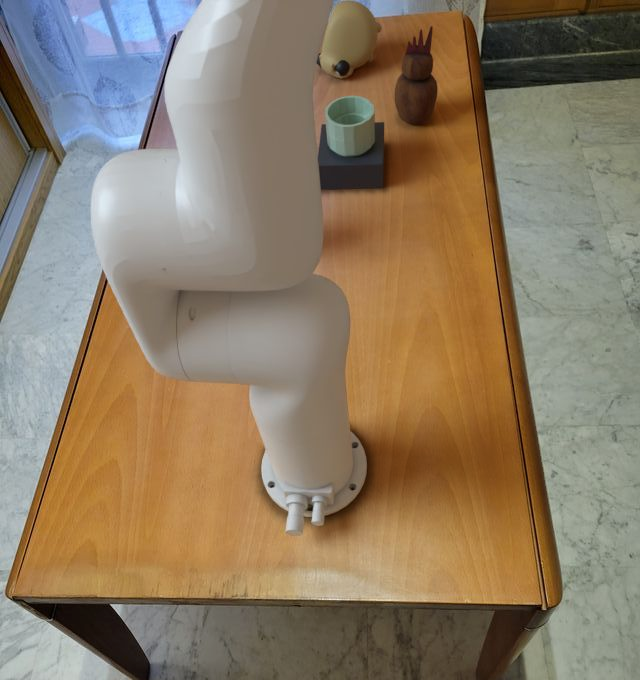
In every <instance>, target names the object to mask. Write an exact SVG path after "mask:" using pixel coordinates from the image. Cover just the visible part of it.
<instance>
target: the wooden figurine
mask: <svg viewBox="0 0 640 680" xmlns="http://www.w3.org/2000/svg"><path fill="white" fill-rule="evenodd" d="M433 28H434V26H430V27H429V31H428V33H427V37H426V39H425V43H424V33H423V29H422V28H421V29H419V35H418V39H416V36H413V37H412V44H411V42H410V41H409V40H408V42H407V45H406V49H405V52H404V54H403V55H402V59H401V74H400V75H399V76H398V77H397V80H396V83H395V87H394V104H395V105H394V106H395V109H396V112H397V114H398V116H399V118H400V119H401V121H403V122H405V123H406V124H409V125H413V126H419V125H423V124H424V123H426V122H428V121H429V119H430V118H431V117H432V116H433V113H434V111H435V108H436V107H435V106H436V103H437V99H438V89H439V88H438V87H439V86H438V82H437V79H436V78H435V77H434V75H433V74H432V72H433V69H434V57H433V55H432V53H431V50H432V42H433V41H432V38H433ZM417 40H418V41H417Z"/></svg>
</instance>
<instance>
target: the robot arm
mask: <svg viewBox="0 0 640 680" xmlns="http://www.w3.org/2000/svg"><path fill="white" fill-rule="evenodd" d="M334 1H335V0H201V1H200V3H199V4H198V6H197V7H196V9H195V10H194V12H193V13H192V15H191V17H190V18H189V20H188V22H187V23H186V26H185V27H184V29H183V31H182V32H181V35H180V37H179V39H178V42H177V44H176V46H175V48H174V51H173V54H172V56H171V59H170V61H169V64H168V67H167V70H166V73H165V78H164V85H163V86H164V89H163V92H164V102H165V107H166V111H167V116H168V119H169V123H170V125H171V129H172V132H173V137H174V140H175V144H176V147H175V148H142V149H141V148H139V149H135V150H129V151H128V150H127V151H125V152H122V153H120V154H119V153H118V154H117V155H116V156H113V157H112V158H110V159H109V160H108V161H107V162H106V163H105V164H104V165H103V166H102V167H101V168H100V170H99V172H98V174H97V175H96V177H95V179H94V183H93V185H92V190H91V196H90V208H89V209H90V226H91V227H90V228H91V233H92V238H93V239H92V240H93V243H94V249H95V251H96V254H97V257H98V258H97V259H98V261H99V264H100V266H101V268H102V270H103V273H104V276H105V278H106V281H107V282H108V284H109V286H110V288H111V290H112V292H113V294H114V297H115V299H116V300H117V303H118V305H119V307H120V309H121V311H122V313H123V315H124V317H125V320H126V321H127V323H128V325H129V327H130V329H131V331H132V334H133V336H134V338H135V339H136V342H137V344H138V346H139V348H140V350H141V351H142V354H143V356H144V357H145V359H146V361H147V362H148V363H149V365H150V366H151V368H153V369H154V371H155V372H157V374H159V375H161V376H162V377H165V378H167V379H170V380H174V381H179V382H189V383H205V384H207V383H208V384H228V385H241V386H249V393H248V399H249V401H248V402H249V406H250V410H251V412H252V415H253V418H254V421H255V423H256V427H257V429H258V432H259V435H260V438H261V441H262V443H263V447H264V449H265V450H264V454H263V457H262V460H261V467H260V470H261V478H262V482H263V486H264V488H265V490H266V492H267V494H268V495H269V497H270V499H271V500H272V501H273V502H274V503H275V504H277V505H278V507H280V508H281V509H283V510H285V511H286V512H288V513H287V516H286V524H285V525H286V526H285V534H286V535H288V536H291V537H292V536H293V537H300V536H303V534H304V525H305V517H306V518H311V525H313V526H314V527H315V526H317V527H322V526H324V524H325V516H329V515H332V514H334V513H337V512H339V511H340V510H342V509H344V508H346V507H347V506H348V505H350V504H351V502H353V501H354V500H355V499H356V497H357V496H358V495H359V493H360V492H361V490H362V488H363V486H364V484H365V481H366V477H367V473H368V472H367V471H368V470H367V469H368V468H367V467H368V463H367V456H366V452H365V448H364V447H363V445H362V442H361V441H360V439H359V438H358V437H357V436H356V435H355V433H354V432H352V431H351V425H350V415H349V413H350V412H349V403H348V394H347V393H348V392H347V381H346V368H347V367H346V365H347V356H348V350H349V345H350V344H349V343H350V338H351V324H352V323H351V311H350V305H349V301H348V299H347V296H346V294H345V293H344V291H343V290H342V288H341V287H340V286H339V285H338V284H337V283H335V281H333V280H332V279H331V278H328V277H326V276H323V275H320V274H316V273H315V270H316V269H317V267H318V265H319V263H320V262H321V257H322V254H323V253H322V252H323V247H324V213H323V201H322V200H323V199H322V190H321V187H320V175H319V164H318V144H317V143H318V142H317V133H316V132H317V131H316V124H315V123H316V122H315V110H314V81H315V75H316V70H317V69H316V68H317V58H318V54H319V53H320V50H321V46H322V44H323V40H324V36H325V32H326V28H327V25H328V21H329V18H330V16H331V13H332V10H333V4H334ZM352 489H353V490H352Z"/></svg>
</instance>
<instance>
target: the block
mask: <svg viewBox="0 0 640 680" xmlns="http://www.w3.org/2000/svg"><path fill="white" fill-rule="evenodd" d="M319 135H320V136H319V144H318V151H317V154H318V164H319V175H320V187H321V191H323V190H326V191H327V190H363V189H364V190H365V189H383V188H384V168H385V167H384V166H385V165H384V164H385V121H375V142H374V144H373V145H372V147H371V148H370V149H369V150H367V151H366V152H365V153H363V154H361V155H358V156H352V157H347V156H342V155H339V154H337V153H336V152H334V151H333V150H331V149H330V147H329V145H328V143H327V132H326V123H322V124H321V126H320V134H319Z"/></svg>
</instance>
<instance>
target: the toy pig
mask: <svg viewBox="0 0 640 680" xmlns="http://www.w3.org/2000/svg"><path fill="white" fill-rule="evenodd" d="M382 29H383V26H382V24H381V23H380V22H378V21H377V20H376V17H375V16H374V14H373V13H372V11H371V10H370V9H369V8H368V7H367V6H366V5H364V4H363V3H361V2H359V1H356V0H341V1H339V2H337V3H336V4H335V5H334V6H333V7H332V9H331V12H330V15H329V19H328V22H327V26H326V29H325V32H324V36H323V39H322V45H321V46H322V47H321V51H320V52H319V54H318V58H317V63H316V66H318V68H320V69H321V70H322V71H323V72H325V74H327V75H329V76H331V77H333V78H337V79H346V78H349V77H350V76H352V74H353V73H354V70H355V69H358V68H360V67H362V66H363V65H365V64H366V63H367V62H368V63H371V62H373V60H374V57H375V56H374V52H375V49H376V47H377V44H378V43H377V42H378V36H379V35H378V34H379V33H381V32H382Z"/></svg>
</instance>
